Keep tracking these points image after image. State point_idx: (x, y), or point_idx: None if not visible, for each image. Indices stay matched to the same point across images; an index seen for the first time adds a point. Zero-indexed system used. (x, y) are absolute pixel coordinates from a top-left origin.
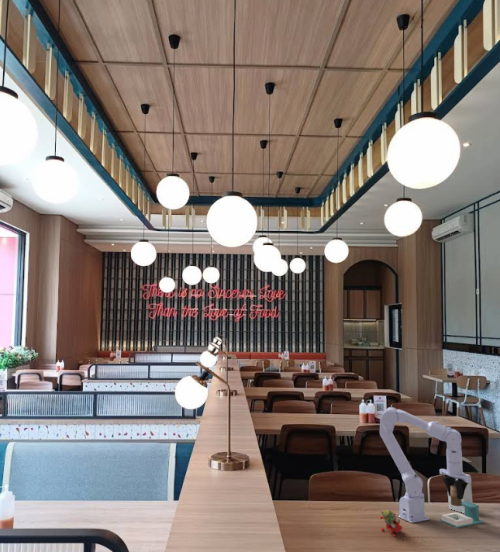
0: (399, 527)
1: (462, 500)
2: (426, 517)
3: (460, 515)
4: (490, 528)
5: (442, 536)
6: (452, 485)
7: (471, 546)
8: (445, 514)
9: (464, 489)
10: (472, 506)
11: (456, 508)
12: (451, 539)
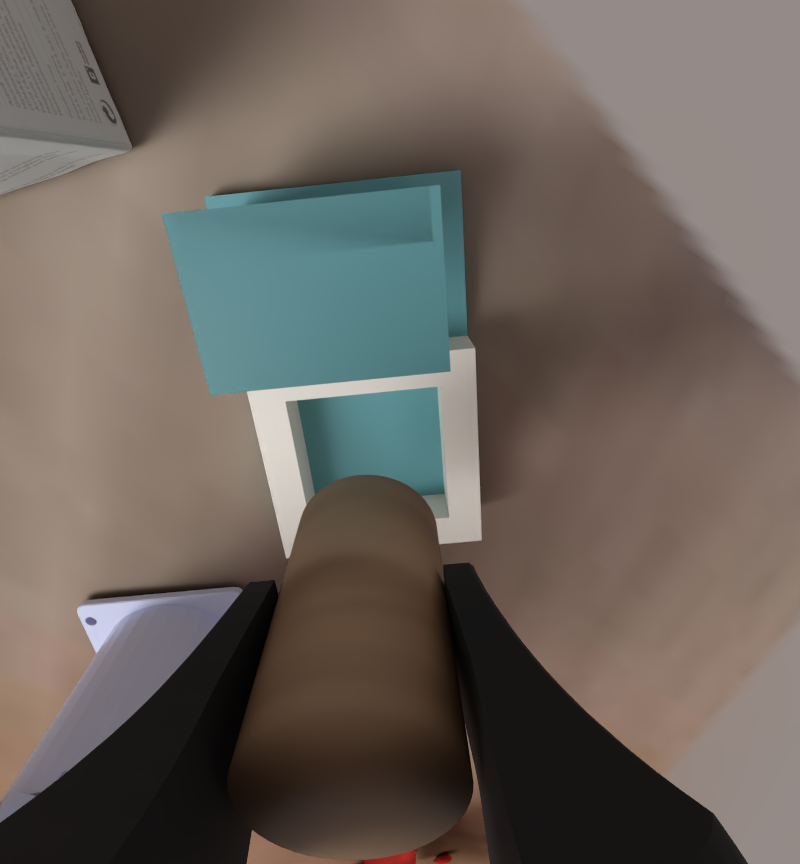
0: (414, 860)
1: (6, 148)
2: (212, 602)
3: (339, 393)
4: (614, 224)
5: (557, 677)
6: (294, 817)
7: (775, 626)
8: (282, 519)
9: (545, 688)
10: (437, 320)
11: (7, 190)
12: (624, 660)
